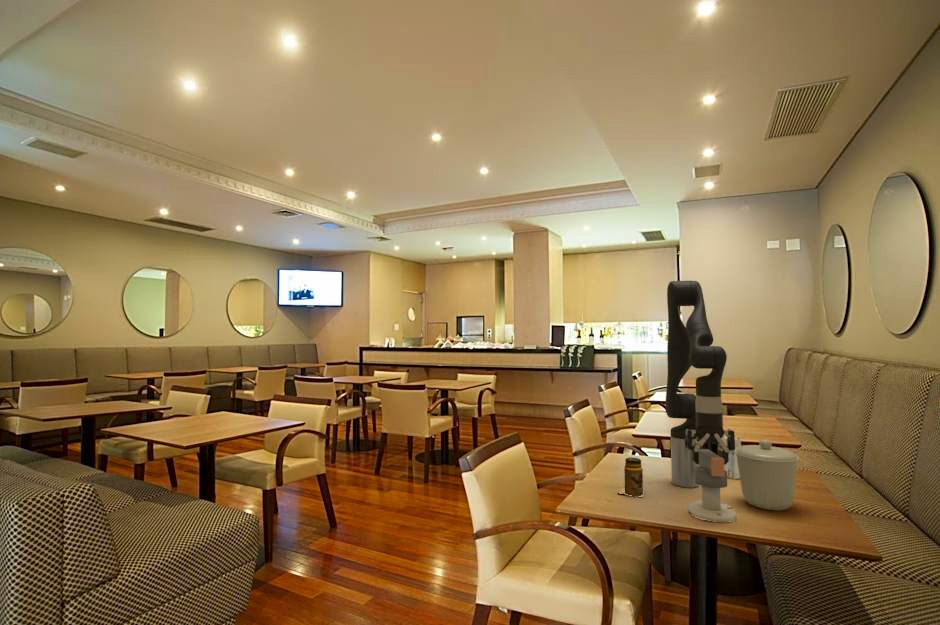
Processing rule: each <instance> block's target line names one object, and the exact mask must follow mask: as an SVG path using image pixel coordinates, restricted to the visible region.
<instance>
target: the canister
mask: <svg viewBox="0 0 940 625" xmlns="http://www.w3.org/2000/svg"><path fill="white" fill-rule="evenodd" d="M734 453H735V454H736V455H737V463H738V469H739V476H740V479H739V482H740V487H741V493H742V496H743V498H744V500H745V502H746V503H747V504H749V505H751V506H753V507H756V508H759V509H762V510H766V511H767V510H768V511H786V510H788V509H789V508H791V507H792V505H793V502H794V496H795V487H796V479H797V478H796V477H797V476H796V475H797V468H798V467H797V465H798V462H799V461H800V456H799V455H797V454H795V453H794V452H793V451H791V450H789V449H785V448H781V447H776V446H773V443H772V441H770V440H769V439H766V438H765V439H760V440H759V441H758V444H747V445H741V447H739V448H738V449H735V450H734Z"/></svg>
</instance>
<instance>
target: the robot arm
mask: <svg viewBox="0 0 940 625" xmlns="http://www.w3.org/2000/svg"><path fill="white" fill-rule="evenodd" d="M666 290H667V291H666V292H667V293H666V299H667V300H666V301H667V318H668V319H667V322H668V328H667V332H668V333H667V352H666V353H667V354H666V355H667V381H666V391H665V412H666V415H667V417H668V418H670V419H681V420H682V419H684V420H685V419H686V420H685V421H684V422H683V423H681V424H679V425H676V426H673V427H672V428H671V429H670V462H671V467H670V468H671V473H670V474H671V484H673V485H675V486H678V487H681V488H689V489H691V488H697V487H699V486H700V485H699V484H697V483H695V470H694V468H695V467H698V466H699V465H698V464H699V452H698V450H699V449H701V447H703V445H711V444H712V445H718V446H719V448H720V451H721V449H722V451H721V452H720V453H721V454H720V455H721V456H720V457H721V458H723V459H724V465H727V463H728V461H729V456H728V453H729V451H731V450H735V437H736V436H735V431H734V430H733V429H729V428H728V429H724V418H723V417H724V416H723V415H724V414H723V411H724V408H723V401H722V386H721V385H722V378H723V375H724V371H725V367H726V363H727V356H728V355H727V353H726V350H725V349H724V348H723V347H722V346H720V345H719V346H718V345H712V344H713V343H714V336H713V333H712V331H711V327H710V324H709V321H708V318H707V313H706V312H707V311H706V305H705V299H704V294H703V289H702V286H701V284H700V283H699V281H698V280H671V281H669V283H668V284H667V289H666ZM692 306H693V308H694V309H693V310H692V312H691V314H690V315H689V317H687V318H688V319H687V321H686V323H685V324H684V322H683V320H682V318H681V316H680V312H679V307H692ZM691 367H693V368H695V369H707V370H710V369H711V371H710V373H709V374H706V375H702V376H699V377H696V379H695V394H694V393H681V392H680V393H679V392H678V389H679V386H680V383H681V381H682V379H683V378H684V377H685V375H686V374H687V373H688V371H689V370H690V368H691ZM723 436H726V437H727V444H728V446H726V445H725V443H724V442H723V441H722V439H721V438H722V437H723Z"/></svg>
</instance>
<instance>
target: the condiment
mask: <svg viewBox="0 0 940 625" xmlns="http://www.w3.org/2000/svg"><path fill="white" fill-rule="evenodd" d="M624 461H625V463H624V468H623V469H624V472H623V473H624V488H625V493H626V494H628V495H632V496H641V495H643V491H644V478H643V477H644V476H643V471H644V470H643V467H642V460H641V459H640V458H638V457H626V458H625V460H624ZM644 493H645V494H646V492H645V491H644Z"/></svg>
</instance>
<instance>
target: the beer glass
mask: <svg viewBox="0 0 940 625" xmlns="http://www.w3.org/2000/svg"><path fill="white" fill-rule="evenodd" d="M721 439H722V441H723V442H724V443H725V445H726V446H728V444H727V437H726V435H723V437H722V438H721ZM741 446H742V442H741V437H739V436H735V449H738V448H739V447H741ZM720 451H722V449H721V448H720ZM728 456H729V461H728V463H727V465H724V470H726V471H727V479H730V480H731V479H732V480H740V476H739V469H738V463H737V455H736V454H735V453H734V450H731V451H729V453H728Z"/></svg>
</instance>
